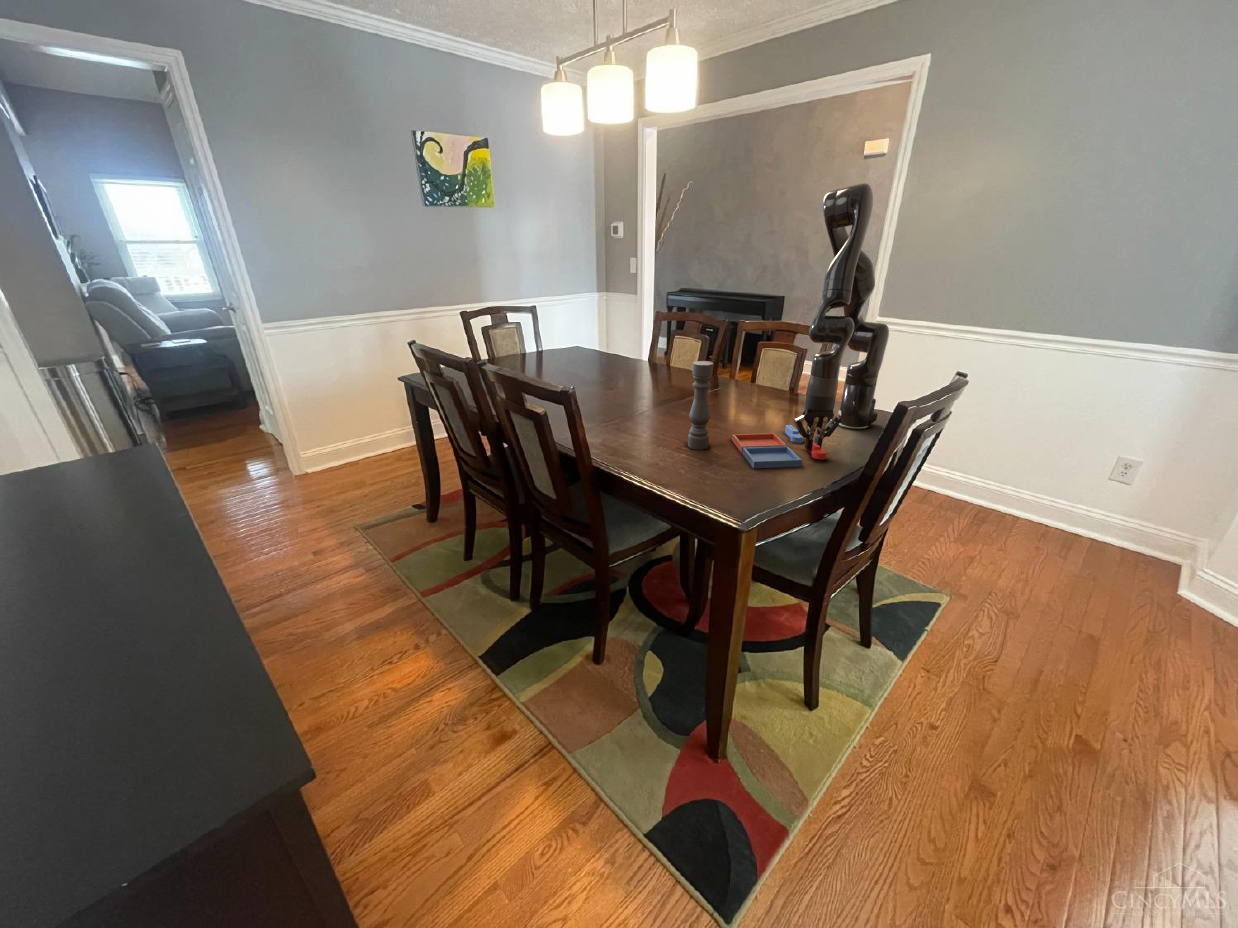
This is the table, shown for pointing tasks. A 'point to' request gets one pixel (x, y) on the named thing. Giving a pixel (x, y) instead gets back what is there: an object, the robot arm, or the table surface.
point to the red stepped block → (818, 452)
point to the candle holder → (700, 405)
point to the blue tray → (771, 457)
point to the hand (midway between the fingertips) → (812, 450)
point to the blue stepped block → (793, 434)
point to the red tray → (757, 440)
